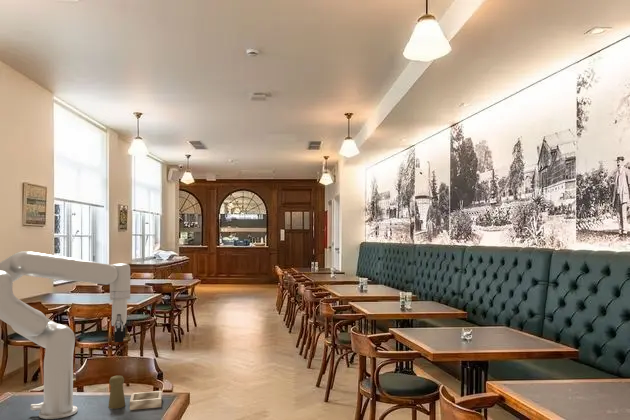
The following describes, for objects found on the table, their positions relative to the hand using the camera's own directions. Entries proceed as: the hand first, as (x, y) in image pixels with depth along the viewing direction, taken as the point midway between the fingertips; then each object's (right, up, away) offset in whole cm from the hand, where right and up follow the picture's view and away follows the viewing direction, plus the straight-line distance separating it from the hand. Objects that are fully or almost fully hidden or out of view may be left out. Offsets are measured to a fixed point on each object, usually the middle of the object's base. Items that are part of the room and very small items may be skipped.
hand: (120, 339), depth 214 cm
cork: (+2, -23, -9) cm, 25 cm away
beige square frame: (+12, -22, -8) cm, 27 cm away
